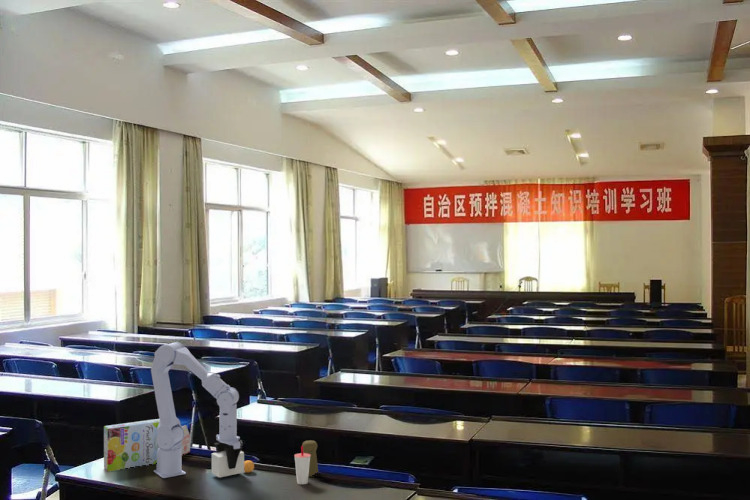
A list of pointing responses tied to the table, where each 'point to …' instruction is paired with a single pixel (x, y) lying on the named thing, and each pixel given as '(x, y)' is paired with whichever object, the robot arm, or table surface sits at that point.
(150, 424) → the snack box
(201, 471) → the table surface
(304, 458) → the cup
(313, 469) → the cork
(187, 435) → the tea bag
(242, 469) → the cover
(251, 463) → the ball
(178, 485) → the table surface
